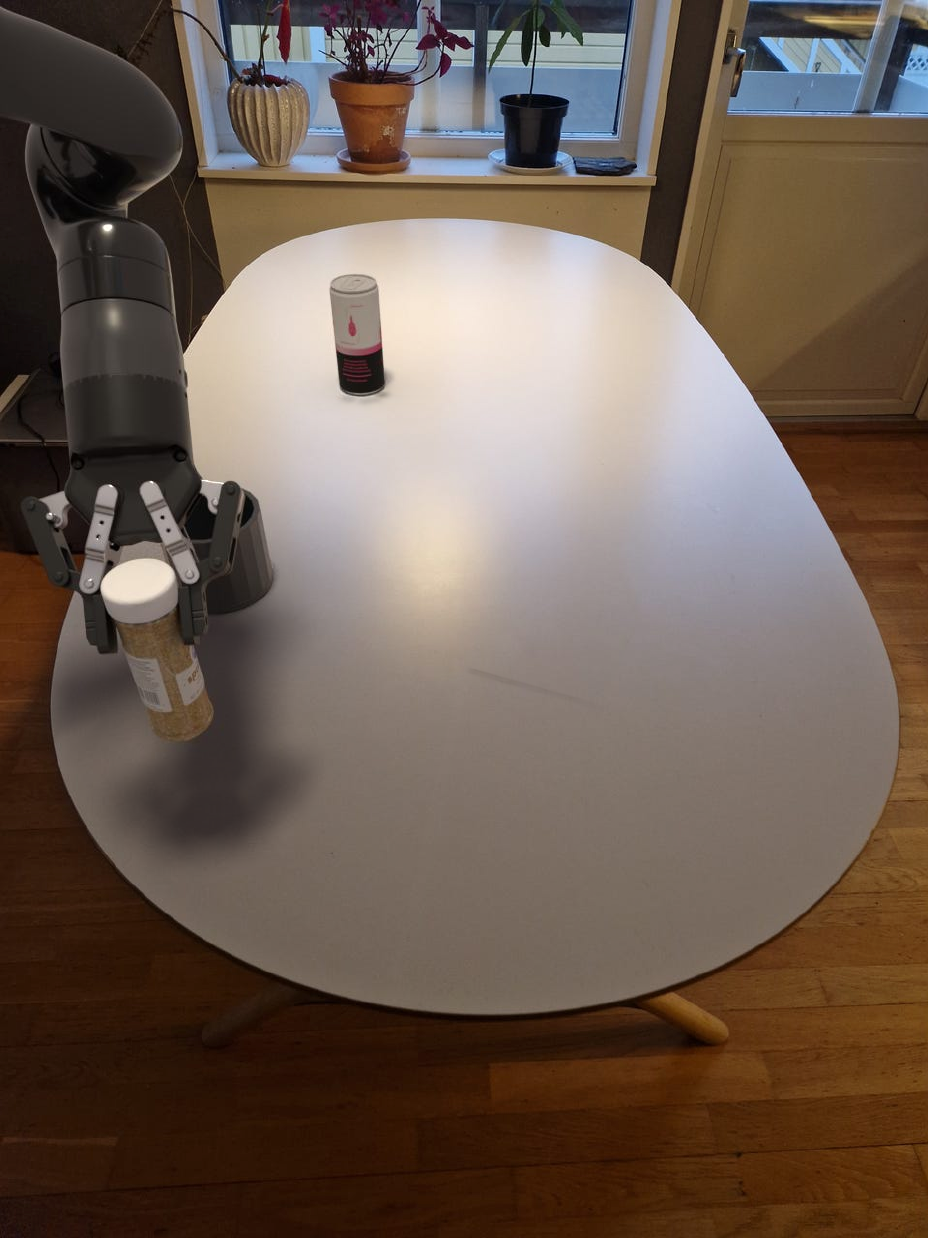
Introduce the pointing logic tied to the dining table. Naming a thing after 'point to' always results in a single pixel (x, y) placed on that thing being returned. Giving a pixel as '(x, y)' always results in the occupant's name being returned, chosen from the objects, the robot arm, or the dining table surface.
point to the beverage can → (357, 333)
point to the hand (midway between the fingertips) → (150, 647)
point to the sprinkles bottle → (158, 647)
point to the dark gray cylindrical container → (249, 561)
